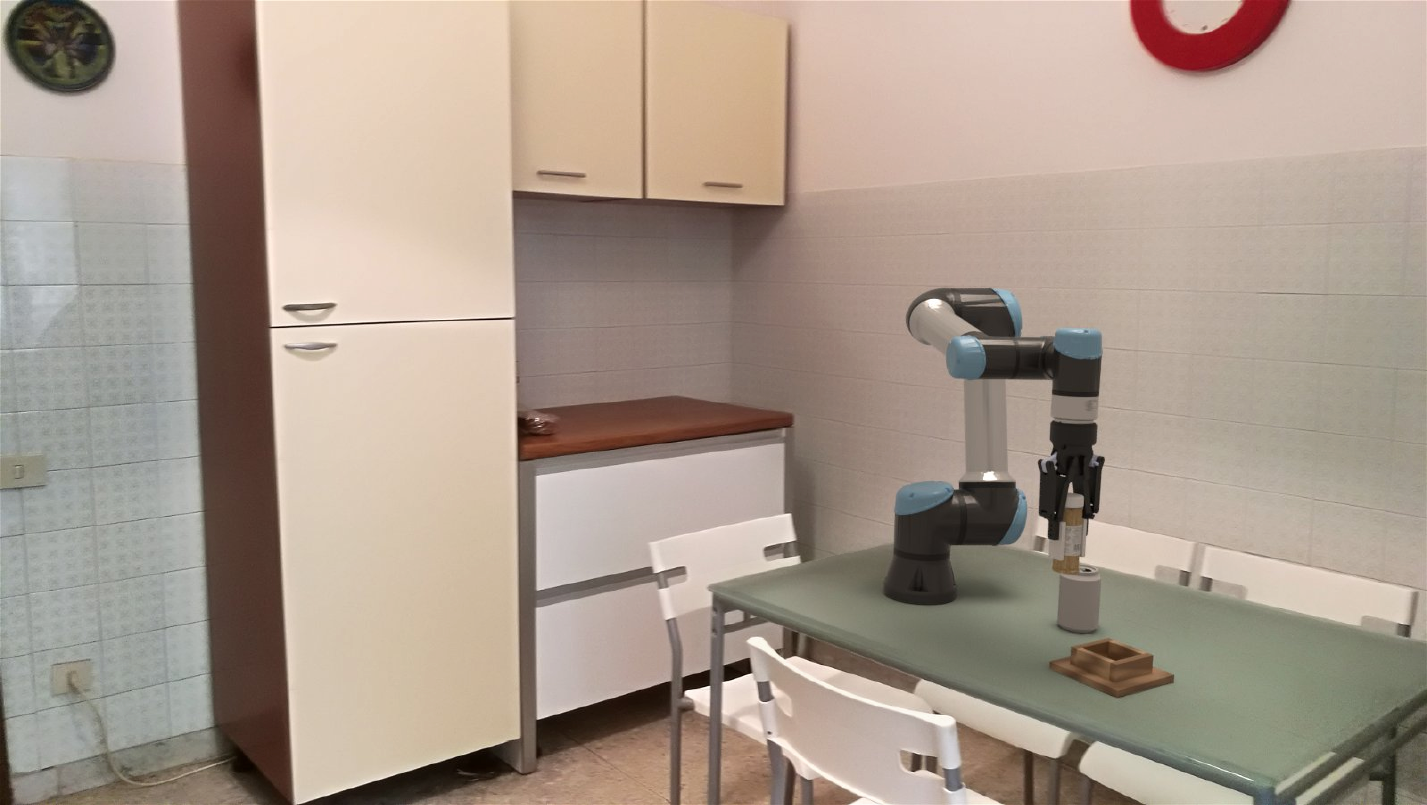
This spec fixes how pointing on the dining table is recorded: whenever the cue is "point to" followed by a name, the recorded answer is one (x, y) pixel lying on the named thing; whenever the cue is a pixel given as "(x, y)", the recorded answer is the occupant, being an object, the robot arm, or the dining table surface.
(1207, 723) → the dining table surface
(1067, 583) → the can
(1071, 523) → the sprinkles bottle
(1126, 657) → the holder
